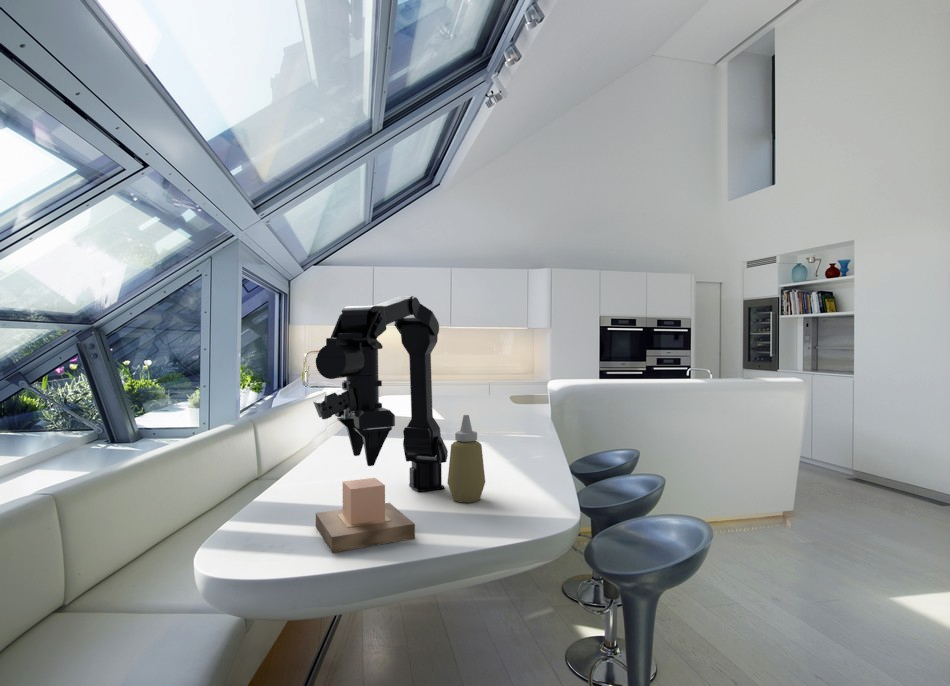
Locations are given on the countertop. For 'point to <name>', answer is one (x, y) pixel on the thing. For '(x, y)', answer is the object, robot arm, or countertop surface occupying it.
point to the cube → (363, 500)
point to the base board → (363, 529)
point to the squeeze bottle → (466, 465)
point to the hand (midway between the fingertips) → (363, 460)
